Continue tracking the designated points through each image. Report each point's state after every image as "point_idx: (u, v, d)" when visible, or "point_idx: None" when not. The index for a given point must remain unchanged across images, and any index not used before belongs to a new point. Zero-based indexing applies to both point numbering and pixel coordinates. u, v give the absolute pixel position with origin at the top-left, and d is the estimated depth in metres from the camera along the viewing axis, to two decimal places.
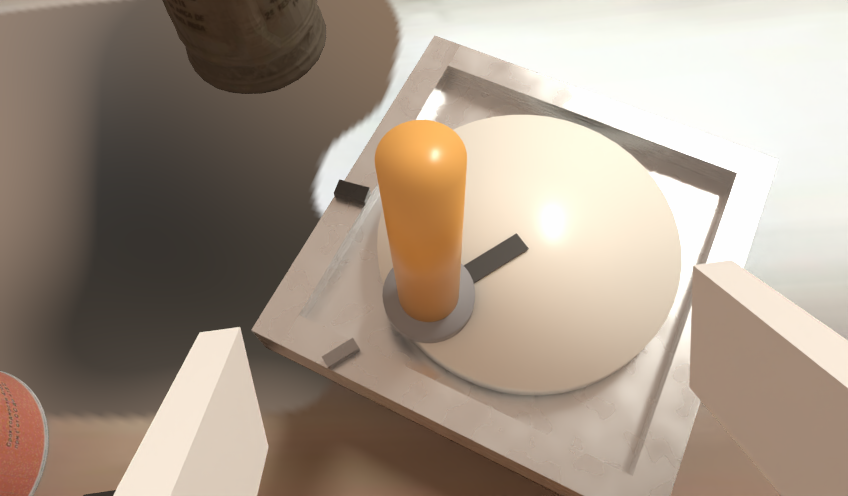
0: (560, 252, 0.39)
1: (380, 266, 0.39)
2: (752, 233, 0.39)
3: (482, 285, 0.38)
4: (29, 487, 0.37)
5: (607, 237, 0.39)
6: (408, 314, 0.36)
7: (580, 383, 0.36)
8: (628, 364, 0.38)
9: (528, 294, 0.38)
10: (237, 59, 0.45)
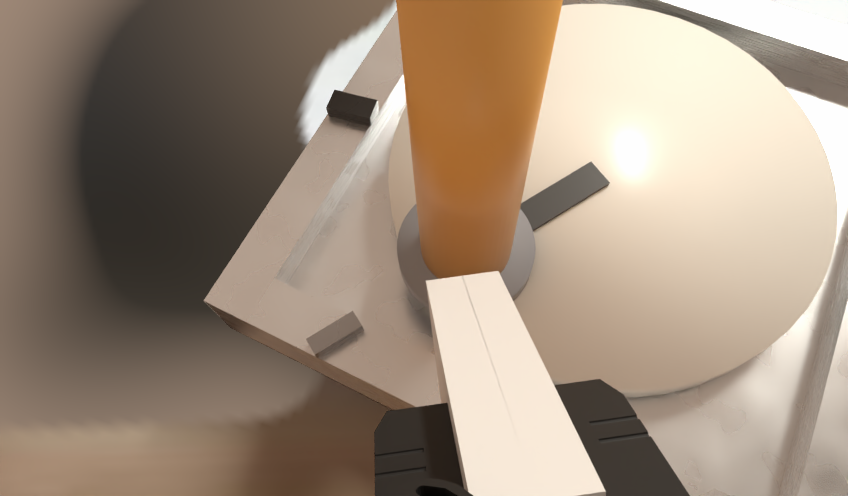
0: (656, 188, 0.27)
1: (393, 209, 0.27)
2: None
3: (544, 235, 0.26)
4: None
5: (723, 167, 0.27)
6: (436, 275, 0.24)
7: (698, 379, 0.23)
8: None
9: (612, 248, 0.26)
10: None
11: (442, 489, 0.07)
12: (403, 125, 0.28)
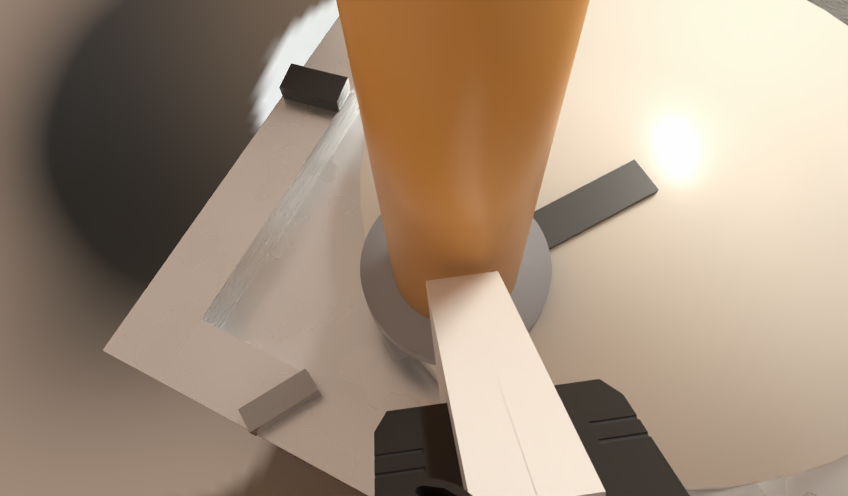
0: (722, 201, 0.19)
1: (363, 207, 0.20)
2: None
3: (564, 257, 0.19)
4: None
5: (815, 177, 0.20)
6: (410, 305, 0.17)
7: (773, 478, 0.16)
8: None
9: (657, 280, 0.19)
10: None
11: (441, 489, 0.07)
12: None
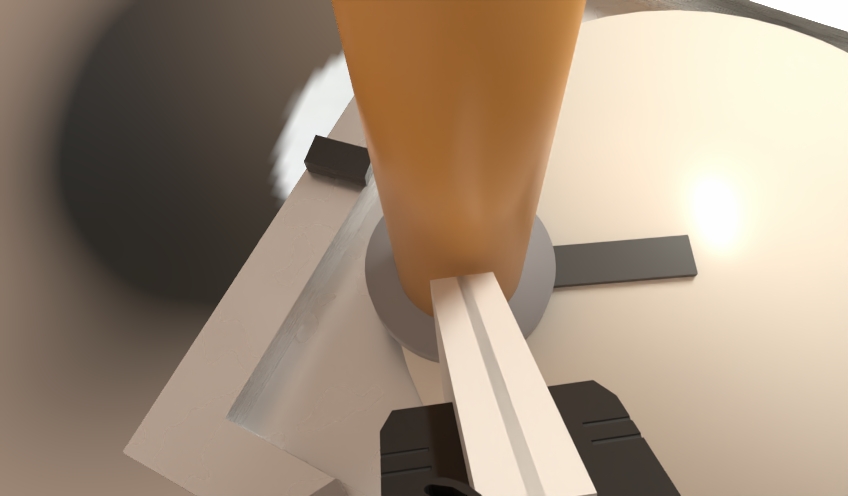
0: (759, 312, 0.18)
1: None
2: None
3: (571, 300, 0.18)
4: None
5: None
6: (400, 282, 0.18)
7: None
8: None
9: (653, 360, 0.18)
10: None
11: (450, 488, 0.07)
12: None
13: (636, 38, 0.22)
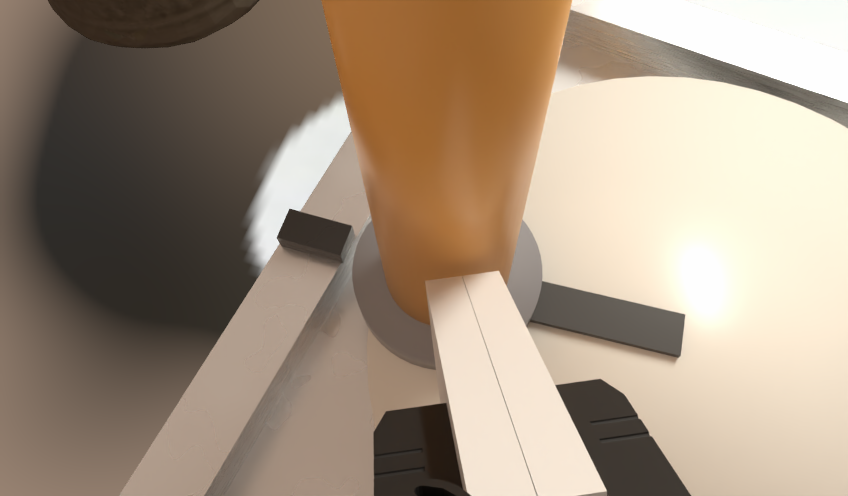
0: (731, 414, 0.17)
1: None
2: None
3: (545, 339, 0.18)
4: None
5: None
6: (383, 267, 0.18)
7: None
8: None
9: None
10: None
11: (440, 489, 0.07)
12: None
13: (707, 107, 0.21)
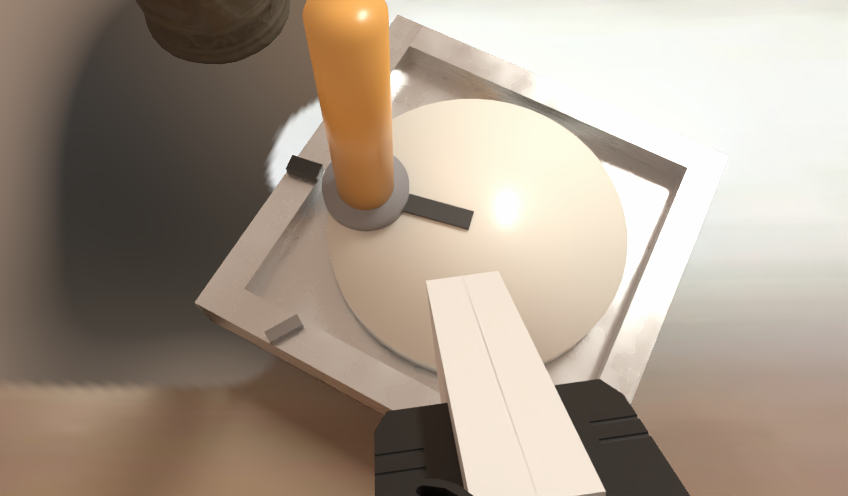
0: (487, 254, 0.39)
1: None
2: (698, 227, 0.40)
3: (409, 220, 0.39)
4: None
5: (533, 278, 0.38)
6: (336, 182, 0.39)
7: (390, 343, 0.36)
8: (569, 351, 0.38)
9: (431, 256, 0.38)
10: (195, 27, 0.45)
11: (442, 489, 0.07)
12: (416, 111, 0.42)
13: (502, 116, 0.42)
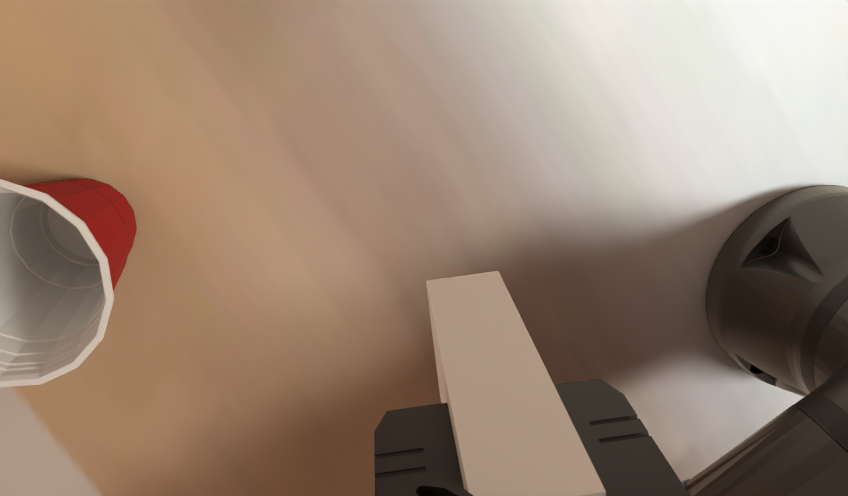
0: None
1: None
2: None
3: None
4: None
5: None
6: None
7: None
8: None
9: None
10: None
11: (442, 489, 0.07)
12: None
13: None
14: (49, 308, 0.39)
